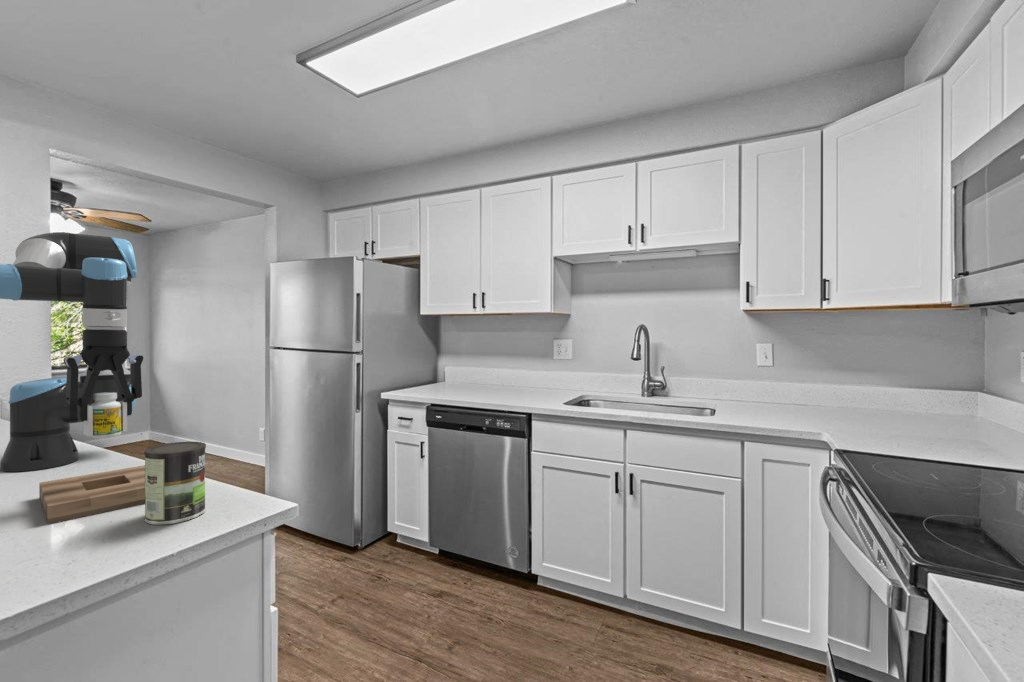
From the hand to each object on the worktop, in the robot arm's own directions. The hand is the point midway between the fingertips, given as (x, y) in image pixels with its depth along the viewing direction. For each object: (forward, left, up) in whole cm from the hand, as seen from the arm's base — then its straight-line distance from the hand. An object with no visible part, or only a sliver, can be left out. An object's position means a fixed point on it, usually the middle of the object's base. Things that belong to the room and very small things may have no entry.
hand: (105, 432), depth 105 cm
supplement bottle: (0, 0, -1) cm, 1 cm away
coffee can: (+4, +23, -15) cm, 28 cm away
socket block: (0, 0, -15) cm, 15 cm away
